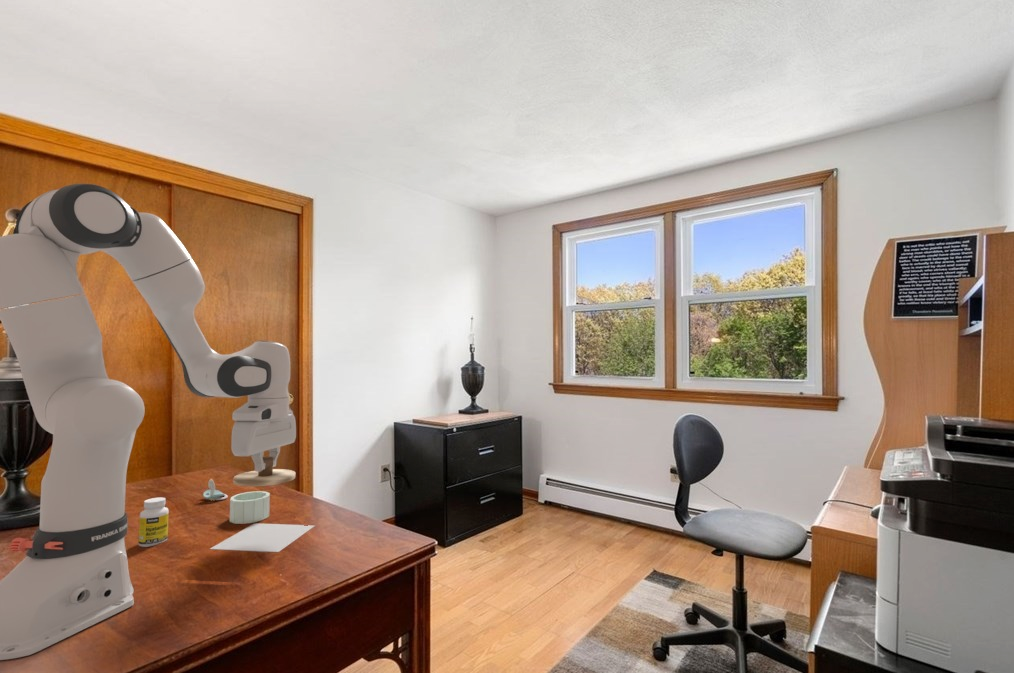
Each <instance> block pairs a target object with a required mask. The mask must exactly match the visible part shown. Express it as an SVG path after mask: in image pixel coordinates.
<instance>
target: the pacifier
mask: <svg viewBox="0 0 1014 673" xmlns="http://www.w3.org/2000/svg"><path fill="white" fill-rule="evenodd" d="M207 486H208V488H209V489H207V490H205V491H204V492H203V494H202V496H203V498H205V499H206V500H208V501H209V500H211V501H210V502H213V501H212V500H216V501H224V500H226V499H228V498H229V496H228V495H227V494H226V493H224V492H222V491H220V490H218V489H216V485H215V482H214V480H213V478H210V479H209V480H208V483H207ZM223 496H224V497H223Z"/></svg>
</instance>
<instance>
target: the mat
mask: <svg viewBox="0 0 1014 673" xmlns="http://www.w3.org/2000/svg"><path fill="white" fill-rule="evenodd" d="M304 525H305V524H284V523H283V524H282V523H262V522H261V523H257V522H254V523H253V524H251V525H249V526H247V527H245V528H244V529H242V530H240V531H238V532H236V533H235V534H233V535H231V536H230V537H228V538H225V539H224V540H223V541H221V542H219V543H217V544H216V545H213V546H212V547H211V548H209V550H215V551H216V550H219V551H241V552H242V551H245V552H263V553H264V552H265V553H279V552H281V551H282V550H284V549H285V548H286V547H288V546H289V545H291V544H292V543H294V542H296V540H298V539H299V538H300V537H302V536H303V535H305V534H306V533H307V532H309V531H311V529H313V528H314V527H315V525H308V526H304Z"/></svg>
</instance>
